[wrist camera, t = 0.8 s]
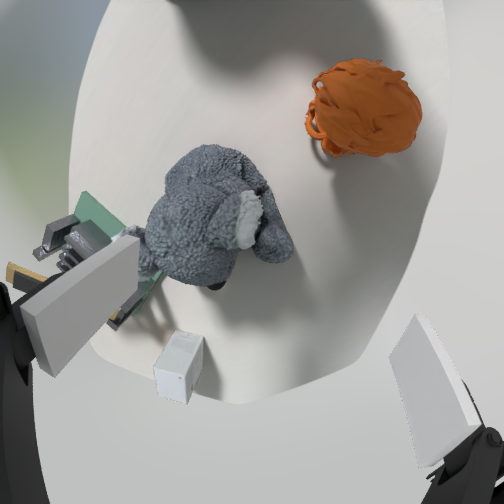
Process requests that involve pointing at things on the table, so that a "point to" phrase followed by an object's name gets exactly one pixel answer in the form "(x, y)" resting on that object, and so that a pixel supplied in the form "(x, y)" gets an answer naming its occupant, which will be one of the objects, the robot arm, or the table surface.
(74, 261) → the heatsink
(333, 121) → the orange tall rounded piece
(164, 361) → the small box
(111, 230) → the board
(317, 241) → the table surface
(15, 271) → the tan and black bar
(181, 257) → the koala plush
